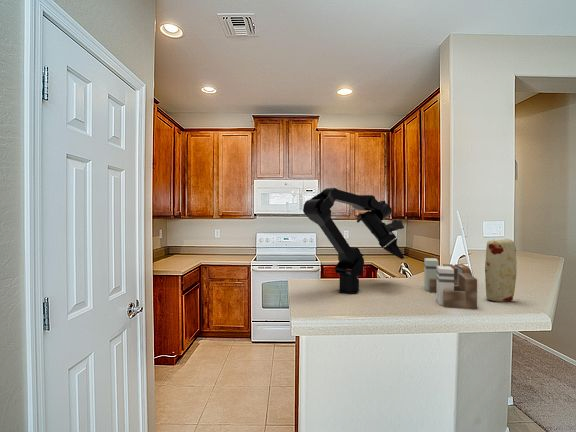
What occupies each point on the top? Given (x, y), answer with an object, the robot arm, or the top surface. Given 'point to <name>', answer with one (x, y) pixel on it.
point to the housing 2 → (462, 293)
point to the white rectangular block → (444, 281)
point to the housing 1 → (434, 281)
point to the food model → (500, 270)
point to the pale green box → (429, 271)
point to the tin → (463, 269)
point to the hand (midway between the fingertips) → (402, 257)
